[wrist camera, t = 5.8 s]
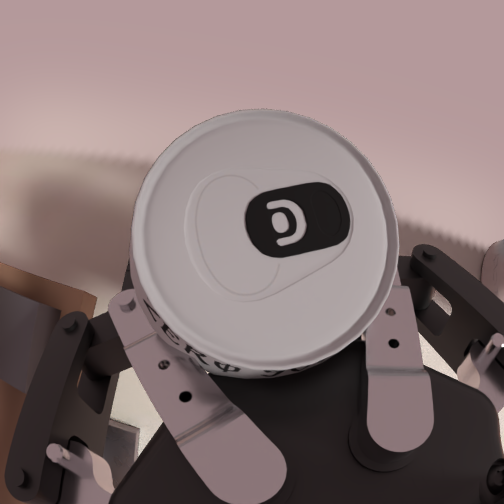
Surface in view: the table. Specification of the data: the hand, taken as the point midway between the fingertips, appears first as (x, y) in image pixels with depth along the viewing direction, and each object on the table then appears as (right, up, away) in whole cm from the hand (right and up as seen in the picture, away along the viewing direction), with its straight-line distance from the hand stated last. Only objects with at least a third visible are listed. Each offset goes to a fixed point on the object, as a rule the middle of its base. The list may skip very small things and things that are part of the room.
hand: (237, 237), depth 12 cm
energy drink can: (0, -3, +7) cm, 8 cm away
